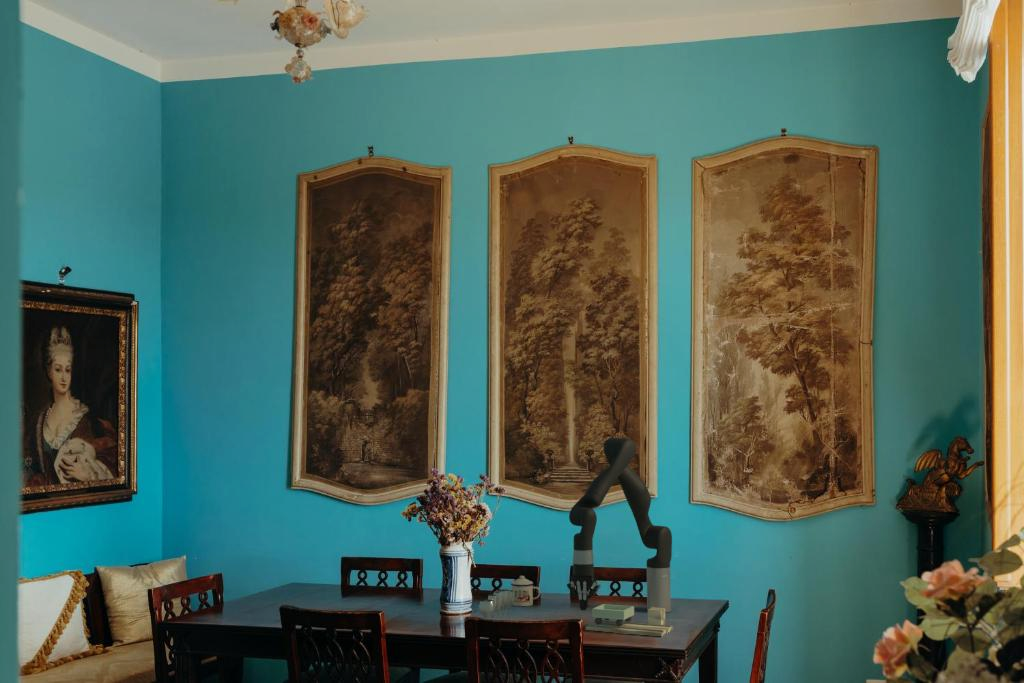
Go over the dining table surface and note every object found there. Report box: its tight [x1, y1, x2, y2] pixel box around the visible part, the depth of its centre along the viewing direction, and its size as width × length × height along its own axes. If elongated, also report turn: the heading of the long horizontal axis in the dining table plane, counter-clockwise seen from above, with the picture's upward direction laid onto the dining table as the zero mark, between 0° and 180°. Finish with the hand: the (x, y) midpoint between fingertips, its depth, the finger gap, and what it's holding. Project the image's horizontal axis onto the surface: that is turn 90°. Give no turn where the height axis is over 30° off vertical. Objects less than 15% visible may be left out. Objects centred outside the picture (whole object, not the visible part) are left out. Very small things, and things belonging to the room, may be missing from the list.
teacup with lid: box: [510, 575, 541, 607], centre depth 435 cm, size 12×9×12 cm
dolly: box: [591, 603, 635, 626], centre depth 384 cm, size 11×12×6 cm
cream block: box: [647, 607, 666, 625], centre depth 391 cm, size 5×5×6 cm
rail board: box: [585, 619, 674, 637], centre depth 381 cm, size 14×28×2 cm, turn 64°
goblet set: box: [478, 588, 515, 620], centre depth 385 cm, size 28×6×13 cm, turn 161°
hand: (583, 610), depth 389 cm, fingers closed
